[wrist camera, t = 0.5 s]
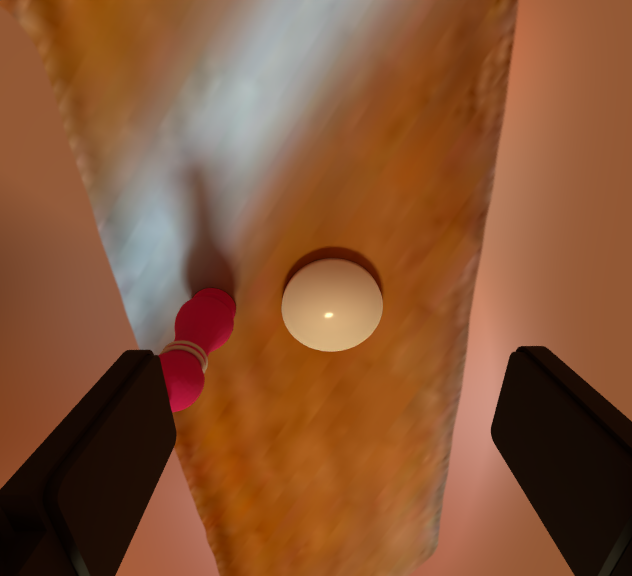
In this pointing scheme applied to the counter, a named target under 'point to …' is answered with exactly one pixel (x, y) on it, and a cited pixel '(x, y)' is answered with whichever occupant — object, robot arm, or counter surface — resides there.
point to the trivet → (332, 304)
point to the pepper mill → (195, 344)
